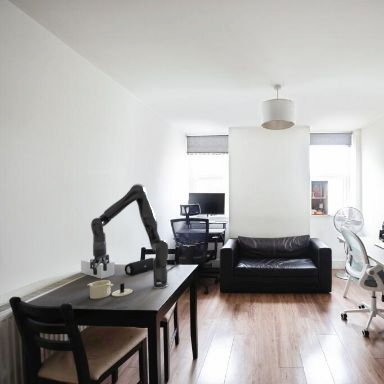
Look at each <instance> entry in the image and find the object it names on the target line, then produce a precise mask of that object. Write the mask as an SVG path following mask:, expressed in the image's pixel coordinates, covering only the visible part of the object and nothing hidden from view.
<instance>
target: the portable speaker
mask: <svg viewBox="0 0 384 384" xmlns="http://www.w3.org/2000/svg"><path fill="white" fill-rule="evenodd" d="M154 258H155V257H147V258H144V259H141V260H136V261H132V262H129V263H127V264H125V266H124V273H125V274H126V276H136V275H138V274H142V273H145V272H149V271H152V270H153V259H154Z"/></svg>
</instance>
